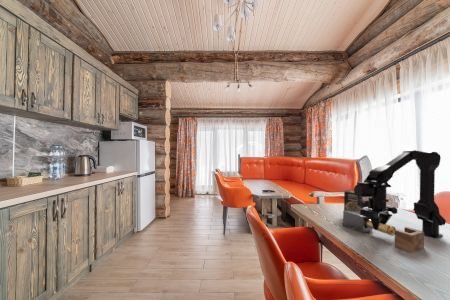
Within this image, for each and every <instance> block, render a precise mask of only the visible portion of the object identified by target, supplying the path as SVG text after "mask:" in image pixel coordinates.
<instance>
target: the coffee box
mask: <svg viewBox="0 0 450 300" xmlns="http://www.w3.org/2000/svg"><path fill="white" fill-rule="evenodd" d="M343 192H344V194H343V198H344V199H343V204H344V205H343V211H345V210H350V209H353V210H356V211H359V212H360V210H361V209H365V207H363V208H360V206H358V205H357V204H358V200H361V199H363V200H364V201H365V197H357V196H356V195H355V193H354V190H351V189H350V190H348V189H347V190H344V191H343Z"/></svg>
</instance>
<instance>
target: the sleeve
mask: <svg viewBox="0 0 450 300" xmlns="http://www.w3.org/2000/svg"><path fill="white" fill-rule="evenodd" d="M342 213H343V214H342V215H343V216H342V217H343V219H342V220H343V221H342V222H343V223H342V225H343V226H344V227H346V228H349V229H352V230H354V231H357V232H360V233H363V234H365V233H369V232H372V231H373V229H371V228H369V227H366V226H365V219H366V218H367V219H370V218H369V217H366V216H362V215H360V212H359V211H356V210H353V209H350V210H345V211H344V210H343V211H342Z"/></svg>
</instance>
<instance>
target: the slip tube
mask: <svg viewBox="0 0 450 300" xmlns="http://www.w3.org/2000/svg"><path fill="white" fill-rule="evenodd" d="M365 226H366V227H369V228H371V229H372V230H374V227H373V225H372V222H371V220H370V219H367V218H366V219H365ZM395 230H397V229H396V227H395V226H393V225H390V224H387V223H386V224H383V223H380V224H379V227H378V229H377V230H376V231H377V232H381V233H384V234H385V235H389V236H391V237H392V236H395Z"/></svg>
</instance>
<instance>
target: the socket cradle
mask: <svg viewBox="0 0 450 300" xmlns="http://www.w3.org/2000/svg"><path fill="white" fill-rule="evenodd" d="M403 229H404V230H402V229H401V230H400V229H396V230H395V235H394V247H396V248H399V249H401V250H403V251H406V252H409V253H412V254H413V253H415V252H418V251H421V250H423V249H425V235H424V232H423V231H422V230H420V229H416V228H413V227H408V226H405V227H404V228H403Z"/></svg>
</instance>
